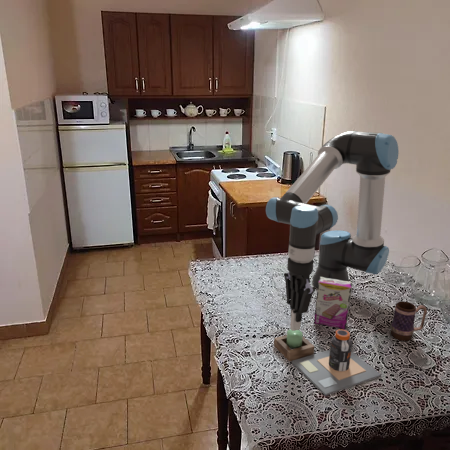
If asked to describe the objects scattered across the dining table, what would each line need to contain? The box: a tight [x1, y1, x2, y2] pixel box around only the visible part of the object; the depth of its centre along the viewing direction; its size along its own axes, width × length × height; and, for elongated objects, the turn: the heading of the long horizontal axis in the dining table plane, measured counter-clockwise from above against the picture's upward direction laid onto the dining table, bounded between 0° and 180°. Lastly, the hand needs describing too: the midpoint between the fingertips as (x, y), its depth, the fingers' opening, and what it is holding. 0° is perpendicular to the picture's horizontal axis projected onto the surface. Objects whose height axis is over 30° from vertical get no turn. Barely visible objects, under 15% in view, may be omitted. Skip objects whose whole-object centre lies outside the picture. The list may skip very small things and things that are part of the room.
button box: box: [273, 334, 316, 363], centre depth 135 cm, size 9×9×3 cm
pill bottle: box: [329, 328, 353, 371], centre depth 125 cm, size 6×6×11 cm
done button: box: [286, 328, 304, 350], centre depth 134 cm, size 5×5×4 cm
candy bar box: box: [313, 277, 353, 330], centre depth 148 cm, size 11×5×16 cm, turn 71°
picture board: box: [291, 349, 382, 397], centre depth 127 cm, size 20×16×1 cm
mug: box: [389, 300, 428, 342], centre depth 142 cm, size 10×7×12 cm
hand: (295, 328), depth 133 cm, fingers closed
